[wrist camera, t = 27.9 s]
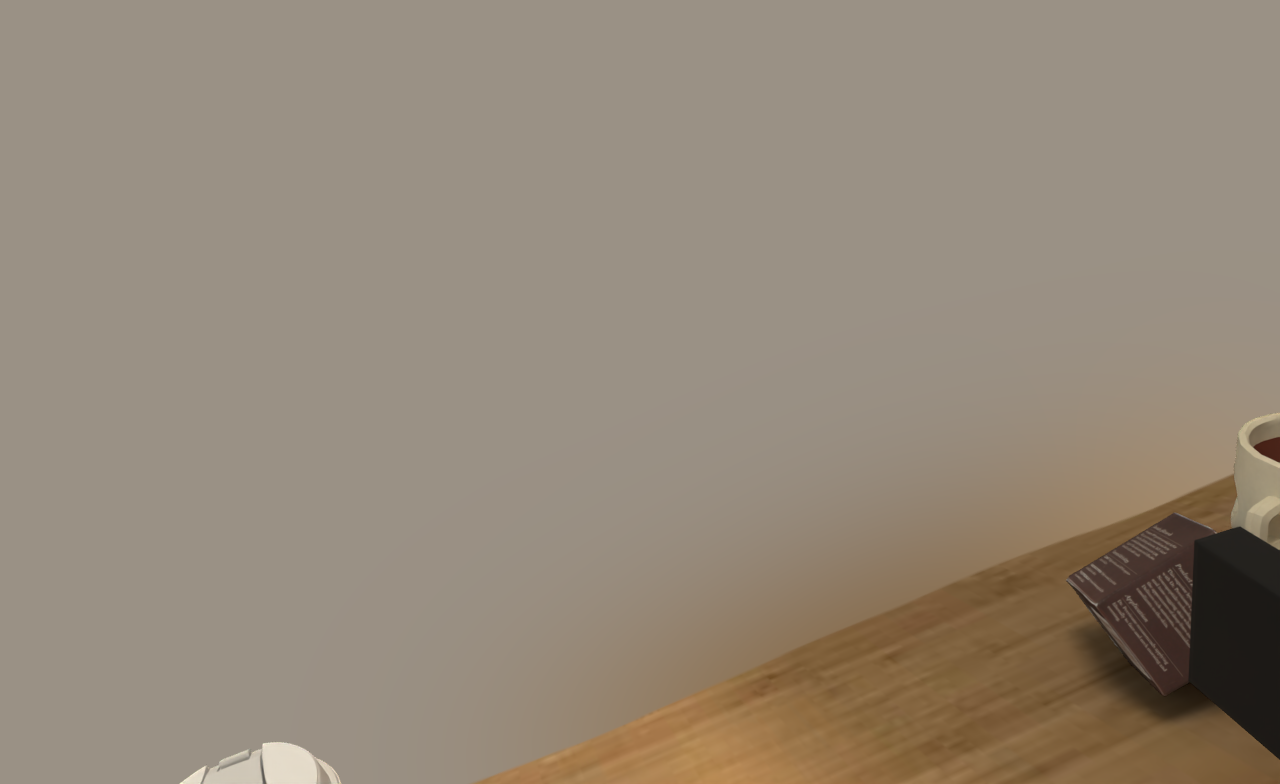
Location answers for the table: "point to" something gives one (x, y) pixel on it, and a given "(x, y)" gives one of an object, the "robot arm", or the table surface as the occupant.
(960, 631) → the table surface
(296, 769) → the coffee cup
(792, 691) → the table surface
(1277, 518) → the character mug
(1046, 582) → the table surface
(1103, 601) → the box
